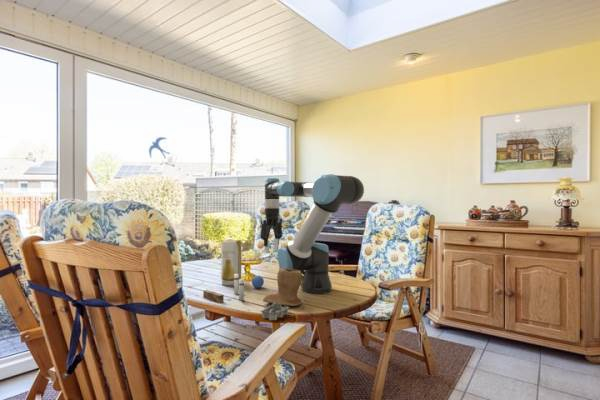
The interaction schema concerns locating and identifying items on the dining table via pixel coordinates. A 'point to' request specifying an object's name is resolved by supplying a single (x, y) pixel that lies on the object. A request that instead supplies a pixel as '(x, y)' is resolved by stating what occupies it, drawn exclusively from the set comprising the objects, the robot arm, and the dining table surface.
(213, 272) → the dining table surface
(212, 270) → the dining table surface
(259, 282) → the ball
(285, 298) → the brown boot
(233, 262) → the juice carton
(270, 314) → the egg carton
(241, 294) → the white rounded rod
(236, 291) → the white pin
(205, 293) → the wall
